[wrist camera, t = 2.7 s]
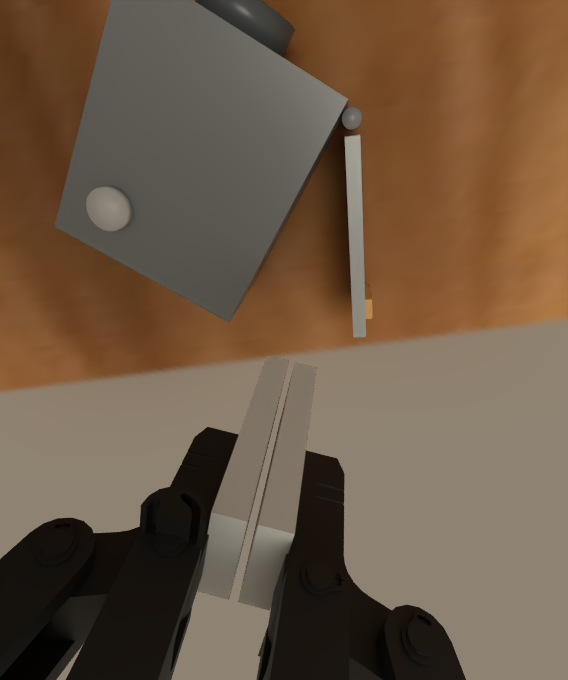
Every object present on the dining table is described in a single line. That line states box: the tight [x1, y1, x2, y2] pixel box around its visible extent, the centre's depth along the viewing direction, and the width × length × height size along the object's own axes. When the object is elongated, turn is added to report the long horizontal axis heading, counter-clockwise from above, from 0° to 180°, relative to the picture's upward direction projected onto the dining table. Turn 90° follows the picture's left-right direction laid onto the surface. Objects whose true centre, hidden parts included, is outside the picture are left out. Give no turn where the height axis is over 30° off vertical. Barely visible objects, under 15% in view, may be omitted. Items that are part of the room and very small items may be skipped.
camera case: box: [54, 0, 362, 322], centre depth 26 cm, size 16×13×9 cm
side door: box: [345, 134, 372, 337], centre depth 27 cm, size 12×1×7 cm, turn 6°
